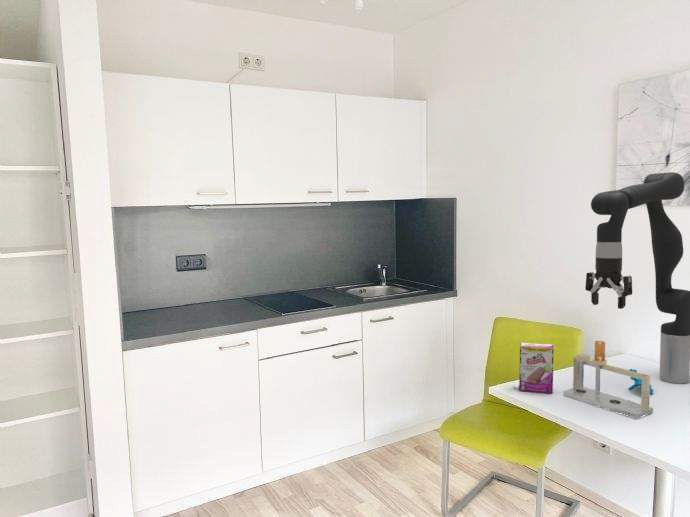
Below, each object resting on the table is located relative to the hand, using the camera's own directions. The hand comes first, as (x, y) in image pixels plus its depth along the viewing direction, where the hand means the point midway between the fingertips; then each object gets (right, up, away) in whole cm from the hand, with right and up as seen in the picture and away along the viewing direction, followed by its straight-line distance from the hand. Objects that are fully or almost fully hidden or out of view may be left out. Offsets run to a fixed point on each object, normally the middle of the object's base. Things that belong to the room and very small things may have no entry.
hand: (607, 306), depth 167 cm
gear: (+18, -31, +12) cm, 38 cm away
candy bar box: (-17, -31, +17) cm, 39 cm away
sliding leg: (0, -30, +6) cm, 30 cm away
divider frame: (+1, -32, +3) cm, 32 cm away
